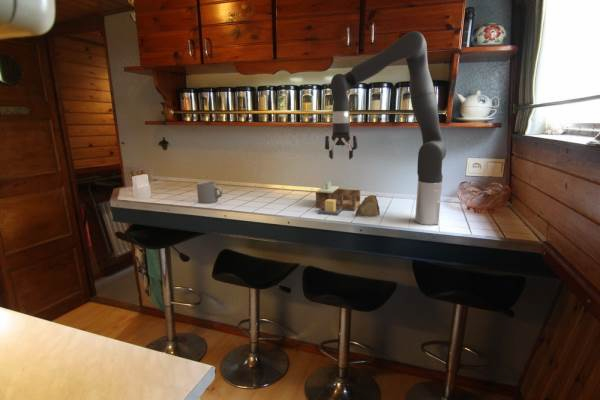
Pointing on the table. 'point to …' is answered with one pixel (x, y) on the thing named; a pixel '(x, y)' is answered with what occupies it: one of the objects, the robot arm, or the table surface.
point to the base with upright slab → (141, 186)
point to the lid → (328, 188)
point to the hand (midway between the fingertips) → (340, 158)
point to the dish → (336, 212)
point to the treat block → (330, 205)
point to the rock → (368, 207)
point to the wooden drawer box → (340, 198)
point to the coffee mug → (208, 192)
